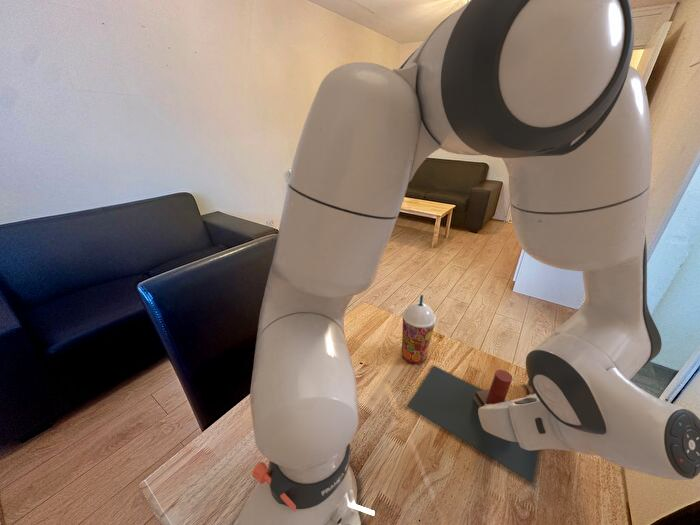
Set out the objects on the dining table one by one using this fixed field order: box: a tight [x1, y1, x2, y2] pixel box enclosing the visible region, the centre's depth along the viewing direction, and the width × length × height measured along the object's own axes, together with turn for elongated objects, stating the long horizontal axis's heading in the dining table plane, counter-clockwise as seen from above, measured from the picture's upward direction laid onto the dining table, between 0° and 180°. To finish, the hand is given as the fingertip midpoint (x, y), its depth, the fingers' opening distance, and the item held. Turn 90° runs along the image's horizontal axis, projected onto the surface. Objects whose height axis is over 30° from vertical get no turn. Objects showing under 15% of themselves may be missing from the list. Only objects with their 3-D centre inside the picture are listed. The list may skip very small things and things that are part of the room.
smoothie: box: [401, 294, 437, 364], centre depth 74 cm, size 8×8×20 cm
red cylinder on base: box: [474, 368, 513, 407], centre depth 61 cm, size 7×4×11 cm, turn 12°
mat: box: [407, 365, 539, 484], centre depth 63 cm, size 15×25×1 cm, turn 52°
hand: (507, 403), depth 58 cm, fingers open, 8 cm apart
